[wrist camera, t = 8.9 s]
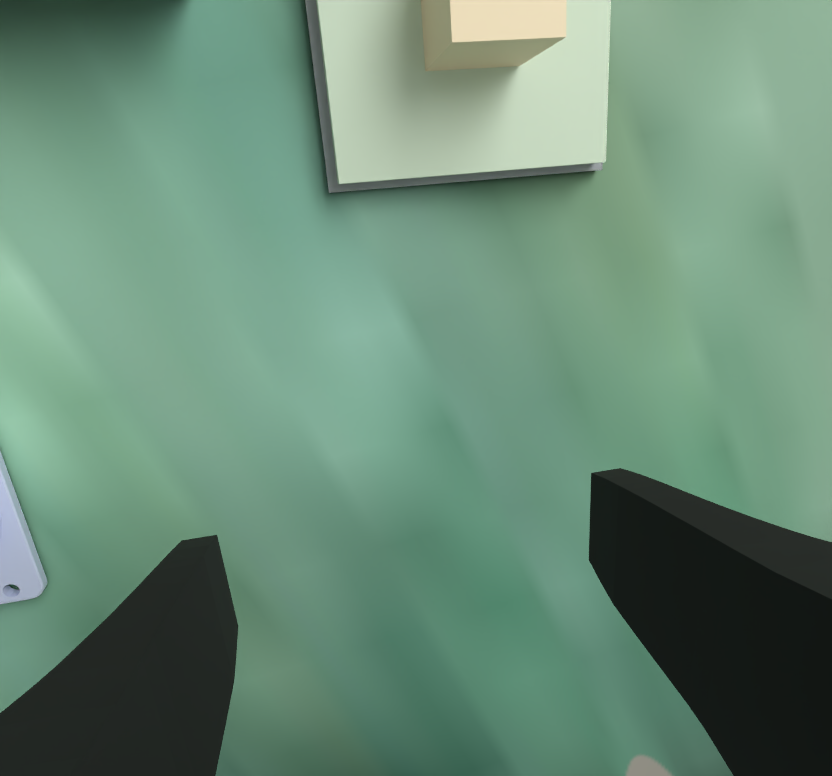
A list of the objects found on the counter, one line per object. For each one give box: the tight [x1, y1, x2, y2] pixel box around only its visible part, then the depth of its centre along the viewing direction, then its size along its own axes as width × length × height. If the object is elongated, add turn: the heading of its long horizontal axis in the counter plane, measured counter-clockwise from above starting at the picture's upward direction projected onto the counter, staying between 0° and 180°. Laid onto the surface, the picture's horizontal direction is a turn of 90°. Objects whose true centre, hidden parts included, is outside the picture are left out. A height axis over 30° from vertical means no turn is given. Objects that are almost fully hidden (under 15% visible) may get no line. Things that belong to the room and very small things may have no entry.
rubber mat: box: [305, 0, 603, 193], centre depth 17 cm, size 9×9×1 cm
